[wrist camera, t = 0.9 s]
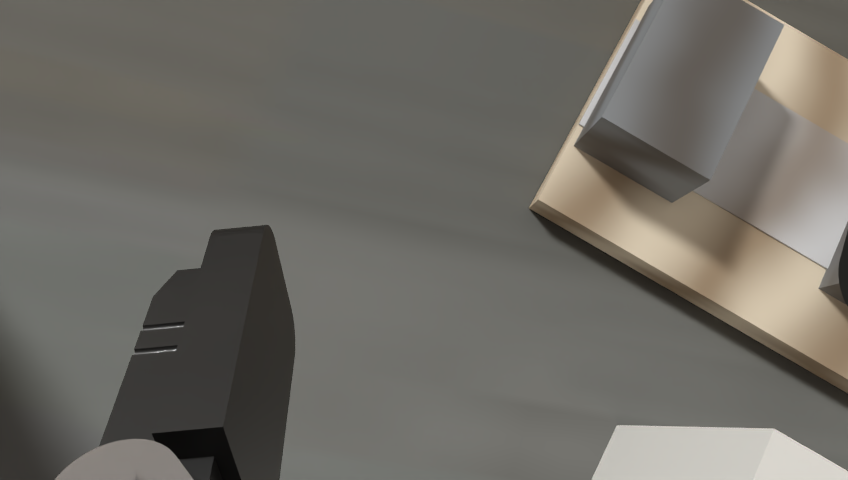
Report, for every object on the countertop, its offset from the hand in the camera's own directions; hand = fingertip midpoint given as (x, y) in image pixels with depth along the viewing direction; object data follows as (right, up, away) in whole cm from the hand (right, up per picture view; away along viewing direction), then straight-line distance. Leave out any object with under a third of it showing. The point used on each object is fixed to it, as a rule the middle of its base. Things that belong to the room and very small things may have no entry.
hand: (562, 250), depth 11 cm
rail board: (+14, +3, +27) cm, 30 cm away
